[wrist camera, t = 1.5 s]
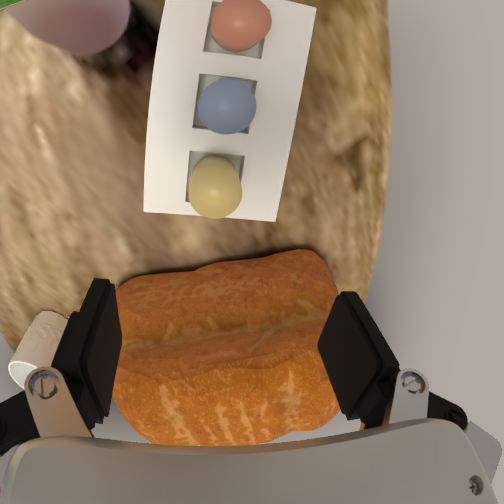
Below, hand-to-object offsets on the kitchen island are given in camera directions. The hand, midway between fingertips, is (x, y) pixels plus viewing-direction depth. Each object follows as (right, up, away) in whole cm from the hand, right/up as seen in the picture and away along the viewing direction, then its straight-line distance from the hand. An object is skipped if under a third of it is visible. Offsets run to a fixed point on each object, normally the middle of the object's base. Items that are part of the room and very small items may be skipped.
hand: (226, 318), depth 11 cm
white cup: (-27, -8, +25) cm, 38 cm away
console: (-2, +16, +14) cm, 21 cm away
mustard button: (-2, +9, +15) cm, 17 cm away
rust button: (0, +20, +8) cm, 21 cm away
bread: (-3, -5, +27) cm, 27 cm away
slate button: (-1, +14, +11) cm, 18 cm away
